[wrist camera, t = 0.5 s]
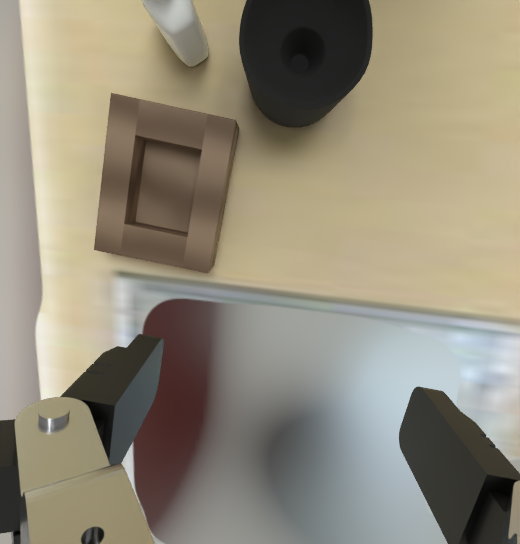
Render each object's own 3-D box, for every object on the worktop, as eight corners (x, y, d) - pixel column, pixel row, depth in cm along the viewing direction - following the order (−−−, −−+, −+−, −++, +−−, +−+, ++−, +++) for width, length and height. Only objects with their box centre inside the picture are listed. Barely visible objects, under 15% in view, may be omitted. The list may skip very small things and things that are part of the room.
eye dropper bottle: (164, 69, 34) (111, 4, 23) (160, 2, 33) (102, -103, 21) (209, 68, 34) (180, 3, 22) (207, 1, 33) (175, -105, 21)
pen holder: (365, 73, 34) (405, 25, 24) (299, 153, 36) (312, 137, 26) (290, 2, 33) (300, -80, 23) (226, 87, 35) (210, 45, 25)
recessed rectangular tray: (128, 104, 35) (111, 93, 31) (239, 128, 35) (235, 120, 31) (111, 243, 38) (94, 249, 34) (214, 265, 38) (208, 273, 34)
